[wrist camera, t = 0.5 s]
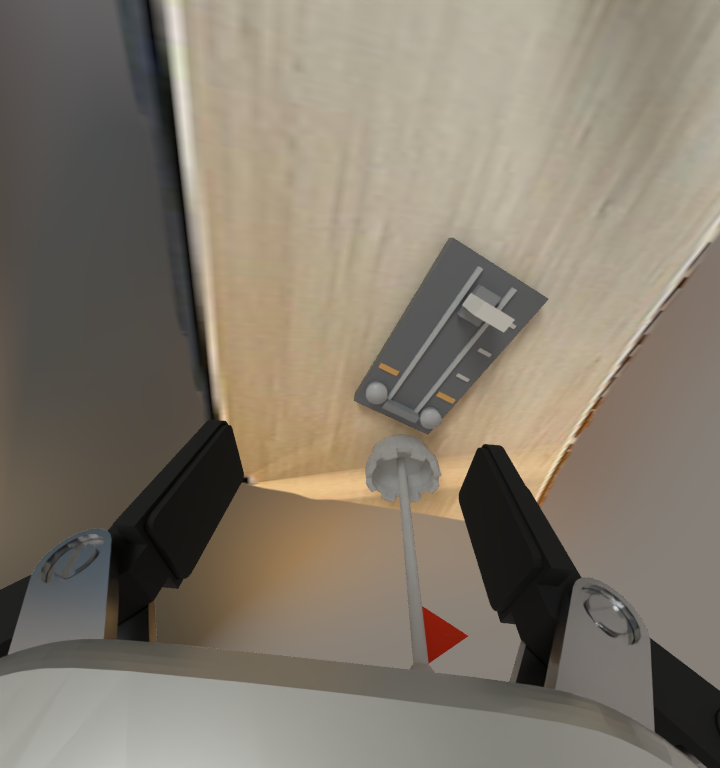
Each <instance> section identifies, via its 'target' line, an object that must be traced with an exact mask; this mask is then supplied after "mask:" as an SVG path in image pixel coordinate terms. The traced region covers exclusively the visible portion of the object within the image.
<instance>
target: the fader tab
mask: <svg viewBox="0 0 720 768" xmlns="http://www.w3.org/2000/svg"><path fill="white" fill-rule="evenodd" d="M500 299H501V297H499V296H498V295H496V294H494V293H493V292H491V291H490V290H488V289H486V288H485V287H483V286H481V285H479V284H478V285H477V286H476V288H475V289H474V291H473V292H472V293H470V295H469V296H468V298H467V299H466V300H465V302H464V303H463V304H462V305H463V306H462V307H461V309H460V310H459V311H458V313H457V314H458V315H459V316H460V317H462V318H464V319H466V320H467V321H469V322H471V323H473V324H474V325H476V326H478V327H479V326H480V325H481V323H482V322H483V321H485V322H486V323H488V324H490V325H492V326H493V327H495V328H497V329H498V330H500V331H502V332H505V331H506V330H507V328H508V327H509V326H510V325H511V324H512V323H513V321H514V320H515V319H513V318H511V317H510V316H508V315H507V314H505V313H503V312H502V311H500V310H499V309H497V308H495V306H496V304H497V303H498V302H499V300H500Z"/></svg>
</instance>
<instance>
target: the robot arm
mask: <svg viewBox="0 0 720 768" xmlns="http://www.w3.org/2000/svg"><path fill="white" fill-rule="evenodd" d="M243 476H244V472H243V468H242V464H241V460H240V456H239V453H238V449H237V445H236V441H235V437H234V433H233V429H232V427H231V426H230V425H228V423H227V422H226V421H219V420H208V421H207V422H206V423H205V424H204V425H203V426H202V427H201V428H200V429H199V431H198V432H197V433H196V434H195V435H194V436H193V437H192V438H191V439H190V441H189V442H188V443H187V444H186V445H185V446H184V447H183V448H182V449H181V450H180V451H179V452H178V453H177V454H176V456H175V457H174V458H173V459H172V460H171V461H170V462H169V464H167V465H166V467H165V468H164V469H163V470H162V471H161V472H160V473H159V474H158V475H157V476H156V477H155V478H154V480H153V481H152V482H151V483H150V484H149V485H148V486H147V487H146V488H145V489H144V490H143V491H142V493H141V494H140V495H139V496H138V497H137V498H136V499H135V500H134V501H133V502H132V503H131V505H130V506H129V507H128V508H127V509H126V510H125V511H124V512H123V513H122V514H121V516H120V517H119V518H118V519H117V520H116V521H115V522H114V523H113V526H112V527H111V528H110V529H109V530H108V531H107V530H104V529H90V530H86V531H83V532H80V533H77V534H75V535H73V536H71V537H70V538H67V539H66V540H64V541H63V542H61V543H60V544H58V545H57V546H55V547H54V548H53V549H52V550H51V551H49V552H48V553H47V554H46V555H45V556H44V557H43V558H42V559H41V561H40V562H39V563H38V564H37V565H36V567H35V569H34V571H33V573H32V575H30V576H28V577H25V578H23V579H21V580H19V581H17V582H15V583H13V584H12V585H9V586H7V587H5V588H3V589H1V590H0V768H720V691H719V690H718V689H717V688H715V687H714V686H713V685H711V684H710V683H708V682H707V681H706V680H705V679H703V678H702V677H701V676H699V675H698V674H697V673H696V672H694V671H693V670H692V669H690V668H689V667H688V666H686V665H685V664H684V663H682V662H681V661H680V660H678V659H677V658H676V657H674V656H673V655H672V654H670V653H669V652H668V651H667V650H665V649H664V648H663V647H661V646H660V645H659V644H657V643H656V642H655V641H653V640H652V639H651V638H649V634H648V630H647V628H646V626H645V624H644V622H643V620H642V618H641V617H640V616H639V614H638V613H637V612H636V610H635V609H634V608H633V606H632V605H631V604H630V603H629V602H628V601H627V600H626V599H625V598H624V597H623V596H622V595H620V594H619V593H618V592H617V591H615V590H614V589H613V588H611V587H610V586H608V585H606V584H604V583H603V582H601V581H599V580H596V579H593V578H581V576H580V574H579V573H578V571H577V570H576V568H575V566H574V564H573V563H572V561H571V560H570V558H569V556H568V554H567V552H566V551H565V549H564V547H563V546H562V544H561V542H560V541H559V539H558V537H557V536H556V534H555V532H554V531H553V529H552V527H551V526H550V524H549V522H548V520H547V519H546V517H545V515H544V514H543V512H542V510H541V509H540V507H539V505H538V503H537V502H536V500H535V498H534V497H533V495H532V493H531V492H530V490H529V489H528V488H527V487H526V486H525V484H524V482H523V480H522V479H521V477H520V475H519V474H518V472H517V470H516V469H515V467H514V465H513V463H512V462H511V460H510V458H509V457H508V455H507V453H506V451H505V450H504V448H503V447H502V446H500V445H488V444H484V445H483V446H482V447H481V448H478V449H477V451H476V453H475V456H474V458H473V461H472V463H471V465H470V468H469V470H468V473H467V475H466V478H465V480H464V482H463V485H462V487H461V490H460V492H459V503H460V506H461V510H462V513H463V516H464V519H465V523H466V526H467V529H468V533H469V536H470V539H471V543H472V546H473V549H474V553H475V556H476V559H477V562H478V566H479V569H480V572H481V575H482V579H483V582H484V586H485V589H486V592H487V595H488V599H489V602H490V605H491V607H492V608H493V609H494V610H495V611H497V612H498V616H499V619H500V622H501V623H509V624H516V627H517V630H518V633H519V635H520V638H521V643H520V646H519V650H518V653H517V657H516V661H515V664H514V667H513V671H512V674H511V678H510V681H509V682H505V681H498V680H491V679H483V678H476V677H468V676H459V675H451V674H442V673H433V672H425V671H416V670H407V669H399V668H390V667H380V666H372V665H363V664H354V663H345V662H336V661H327V660H318V659H309V658H300V657H291V656H282V655H272V654H263V653H254V652H244V651H235V650H234V651H233V650H225V649H216V648H206V647H197V646H187V645H177V644H166V643H157V636H156V615H155V598H156V596H157V594H158V593H159V591H160V590H161V588H162V587H167V588H176V589H178V588H179V586H180V584H181V582H182V581H183V579H185V578H187V577H189V575H190V574H191V573H192V571H193V569H194V568H195V566H196V564H197V562H198V560H199V559H200V557H201V555H202V553H203V551H204V549H205V547H206V546H207V544H208V542H209V540H210V539H211V537H212V535H213V533H214V531H215V529H216V528H217V526H218V524H219V522H220V520H221V519H222V517H223V515H224V513H225V511H226V510H227V508H228V506H229V504H230V502H231V501H232V499H233V497H234V495H235V493H236V492H237V490H238V488H239V486H240V484H241V482H242V480H243Z"/></svg>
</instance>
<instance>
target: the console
mask: <svg viewBox="0 0 720 768" xmlns="http://www.w3.org/2000/svg"><path fill="white" fill-rule="evenodd" d="M478 284H479V285H481V286H483V287H485V288H486V289H488V290H490V291H491V292H493V293H494V294H496V295H498V296H499V297H501V299H500V300H499V302H498V303H497V304H496V306H495V308H497V309H499V310H500V311H502V312H503V313H505V314H507V315H508V316H510V317H511V318H513V319H515V320H514V321H513V323H512V324H511V325H510V326H509V327H508V328H507V330H506V331H505V332H502V331H500V330H498V329H497V328H495V327H493V326H492V325H490V324H488V323H486V322H485V321H483V322H482V323H481V325H480V326H479V327H478V326H476V325H474V324H473V323H471V322H469V321H467V320H466V319H464V318H462V317H460V316H459V315H458V314H457V313H458V311H459V310H460V309H461V307H462V306H463V305H462V304H463V303H464V302H465V300H466V299H467V298H468V296H469V295H470V293H472V292H473V291H474V289H475V288H476V286H477V285H478ZM547 300H548V298H546V297H545V296H543V295H542V294H540V293H539V292H537V291H535V290H534V289H532V288H531V287H529V286H528V285H526V284H524V283H523V282H521V281H520V280H518V279H517V278H515V277H514V276H512V275H510V274H509V273H507V272H506V271H504V270H503V269H501V268H499V267H498V266H496V265H495V264H493V263H492V262H490V261H489V260H487V259H485V258H484V257H482V256H481V255H479V254H478V253H476V252H474V251H473V250H471V249H470V248H468V247H467V246H465V245H464V244H462V243H460V242H459V241H457V240H456V239H454V238H449V239H448V241H447V242H446V244H445V246H444V247H443V249H442V251H441V252H440V254H439V256H438V257H437V259H436V261H435V262H434V264H433V266H432V267H431V269H430V270H429V272H428V274H427V275H426V277H425V279H424V280H423V282H422V284H421V285H420V287H419V289H418V290H417V292H416V294H415V295H414V297H413V299H412V300H411V302H410V304H409V305H408V307H407V308H406V310H405V312H404V313H403V315H402V317H401V318H400V320H399V322H398V323H397V325H396V327H395V328H394V330H393V332H392V333H391V335H390V337H389V338H388V340H387V342H386V343H385V345H384V346H383V348H382V350H381V351H380V353H379V355H378V356H377V358H376V360H375V361H374V363H373V365H372V366H371V368H370V370H369V371H368V373H367V375H366V376H365V378H364V379H363V381H362V383H361V384H360V386H359V388H358V389H357V391H356V393H355V396H354V401H356V402H358V403H360V404H362V405H364V406H367V407H369V408H371V409H373V410H375V411H378V412H380V413H382V414H384V415H386V416H388V417H391V418H393V419H395V420H397V421H399V422H402V423H404V424H406V425H408V426H410V427H413V428H415V429H417V430H419V431H421V432H424V433H426V434H429V433H430V432H431V431H432V430H433V428H436V427H438V426H439V425H440V424H441V421H442V418H443V417H444V416H445V415H446V414H447V413H448V412H449V410H450V409H451V408H452V407H453V406H454V405H455V404H456V403H457V401H458V400H459V399H460V398H461V397H462V396H463V395H464V394H465V392H466V391H467V390H468V389H469V388H470V387H471V386H472V385H473V383H474V382H475V381H476V380H477V379H478V378H479V377H480V376H481V374H482V373H483V372H484V371H485V370H486V369H487V368H488V367H489V365H490V364H491V363H492V362H493V361H494V360H495V359H496V358H497V356H498V355H499V354H500V353H501V352H502V351H503V350H504V349H505V347H506V346H507V345H508V344H509V343H510V342H511V341H512V340H513V339H514V337H515V336H516V335H517V334H518V333H519V332H520V331H521V330H522V328H523V327H524V326H525V325H526V324H527V323H528V322H529V321H530V319H531V318H532V317H533V316H534V315H535V314H536V313H537V312H538V310H539V309H540V308H541V307H542V306H543V305H544V304H545V303H546V301H547Z"/></svg>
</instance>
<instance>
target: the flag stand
mask: <svg viewBox="0 0 720 768" xmlns="http://www.w3.org/2000/svg"><path fill="white" fill-rule="evenodd" d="M365 474H366V484H367V486H368V488H369V489H370V491H371V492H373V491H375V490H377V491H379V492H380V493H381V495H382V499H384V500H387V501H391V502H394V501H395V497H400V506H401V518H402V531H403V543H404V554H405V555H404V556H405V568H406V580H407V593H408V605H409V616H410V629H411V641H412V654H413V665H412V666H411V668H410V670H416V671H425V672H433V673H435V672H434V671H433V669H432V668H431V667H430V666H429V663H430V662H431V661H433V660H434V659H436V658H437V657H439V656H440V655H442V654H443V653H444V652H446V651H447V650H449V649H450V648H452V647H453V646H455V645H456V644H458V643H459V642H460V641H462V640H463V639H465V638H466V637H468V636H467V635H466V634H464V633H463V632H461V631H460V630H458V629H457V628H455V627H454V626H452V625H451V624H449V623H447V622H446V621H444V620H443V619H441V618H440V617H438V616H437V615H435V614H434V613H432V612H430V611H429V610H427V609H426V608H424V607H422V602H421V594H420V586H419V577H418V568H417V560H416V551H415V543H414V534H413V525H412V517H411V508H410V502H415V501H419V500H421V495H420V494H422V493H424V492H426V491H428V492H429V493H431V494H433V493H434V492H435V491H436V490H437V488H438V487H439V482H438V479H439V476H441V473H440V469H439V465H438V461H437V459H436V457H435V455H434V454H433V453H432V452H431V451H430V450H429V449H428V447H427V446H426V444H425V443H424V442H423V441H421V440H420V439H418V438H416V437H413V436H409V435H393V436H389V437H387V438H384V439H383V440H381V441H379V442H378V443H377V444H376V445H375V447H374V449H373V451H372V454H371V455H370V457H369V458H368V460H367V462H366V472H365Z"/></svg>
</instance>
